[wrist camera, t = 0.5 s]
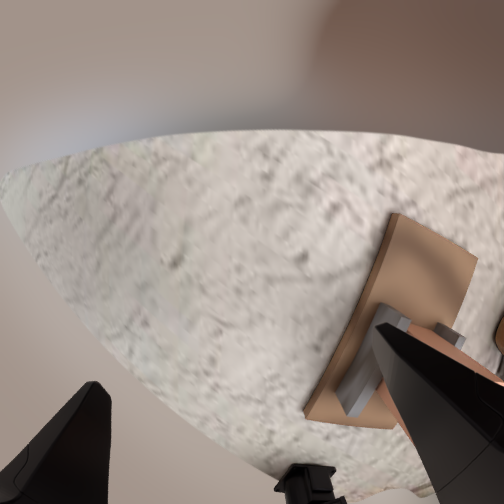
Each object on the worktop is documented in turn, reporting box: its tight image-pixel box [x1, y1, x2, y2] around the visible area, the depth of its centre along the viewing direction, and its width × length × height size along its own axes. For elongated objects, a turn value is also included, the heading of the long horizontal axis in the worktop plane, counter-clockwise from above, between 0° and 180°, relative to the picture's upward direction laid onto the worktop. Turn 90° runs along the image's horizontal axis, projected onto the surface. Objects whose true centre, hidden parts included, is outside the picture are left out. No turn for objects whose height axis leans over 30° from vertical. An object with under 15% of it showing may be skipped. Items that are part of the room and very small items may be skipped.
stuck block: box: [375, 323, 504, 446], centre depth 19 cm, size 6×6×12 cm
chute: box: [303, 213, 478, 429], centre depth 24 cm, size 22×12×6 cm, turn 160°
